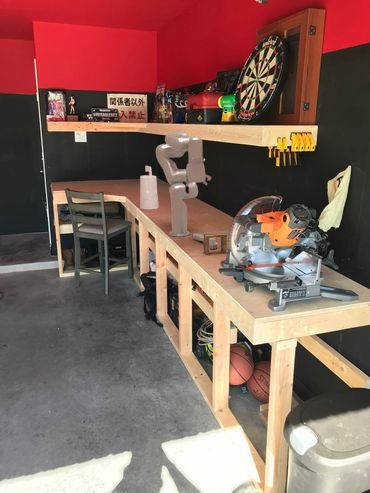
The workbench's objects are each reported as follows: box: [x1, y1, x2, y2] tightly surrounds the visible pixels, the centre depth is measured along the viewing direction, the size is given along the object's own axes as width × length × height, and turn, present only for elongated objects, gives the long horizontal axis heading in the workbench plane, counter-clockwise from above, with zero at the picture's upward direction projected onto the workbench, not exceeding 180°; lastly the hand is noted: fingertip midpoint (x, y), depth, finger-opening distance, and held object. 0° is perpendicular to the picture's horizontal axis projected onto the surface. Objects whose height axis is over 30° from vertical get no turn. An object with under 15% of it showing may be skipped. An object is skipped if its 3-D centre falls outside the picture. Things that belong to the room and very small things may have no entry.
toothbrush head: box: [192, 232, 218, 250], centre depth 243 cm, size 5×7×25 cm
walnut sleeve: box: [203, 232, 228, 256], centre depth 226 cm, size 4×12×10 cm, turn 106°
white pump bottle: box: [139, 165, 160, 210], centre depth 343 cm, size 15×15×33 cm
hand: (196, 192), depth 234 cm, fingers open, 9 cm apart
